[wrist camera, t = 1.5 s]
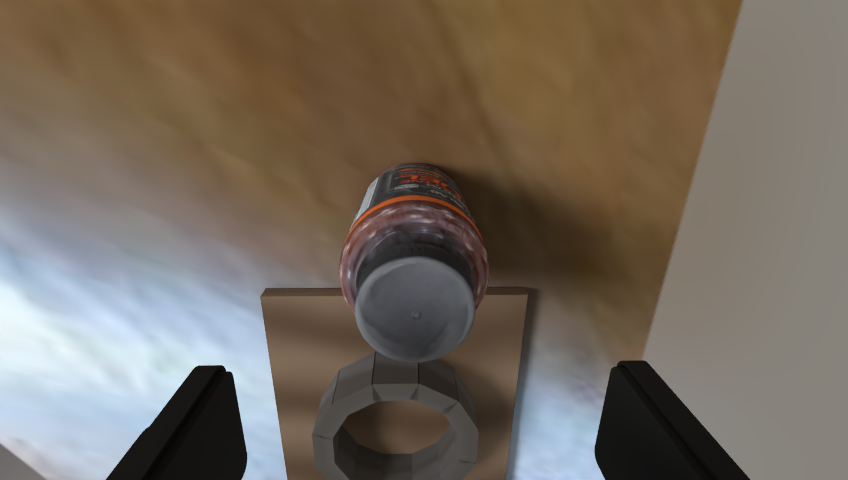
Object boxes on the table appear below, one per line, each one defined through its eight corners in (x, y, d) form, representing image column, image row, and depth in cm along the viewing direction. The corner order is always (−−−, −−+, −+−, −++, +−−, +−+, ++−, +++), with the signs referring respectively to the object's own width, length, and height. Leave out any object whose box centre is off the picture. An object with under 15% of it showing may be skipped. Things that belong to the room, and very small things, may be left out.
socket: (265, 288, 25) (241, 324, 21) (523, 287, 26) (543, 322, 22) (295, 494, 32) (280, 550, 28) (499, 489, 32) (511, 542, 29)
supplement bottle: (478, 176, 23) (538, 258, 13) (445, 268, 25) (474, 404, 15) (375, 145, 22) (348, 205, 12) (350, 243, 24) (307, 369, 14)
